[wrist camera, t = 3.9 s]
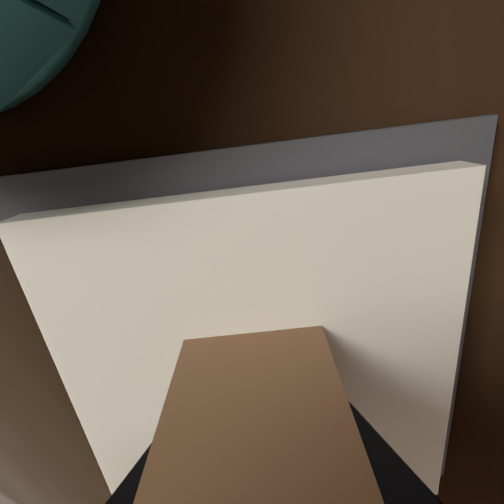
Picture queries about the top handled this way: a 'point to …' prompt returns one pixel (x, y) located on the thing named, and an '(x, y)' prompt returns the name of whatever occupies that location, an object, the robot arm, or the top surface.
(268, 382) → the lid
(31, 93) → the bowl
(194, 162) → the mat
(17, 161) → the top surface
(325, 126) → the top surface
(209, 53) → the top surface
